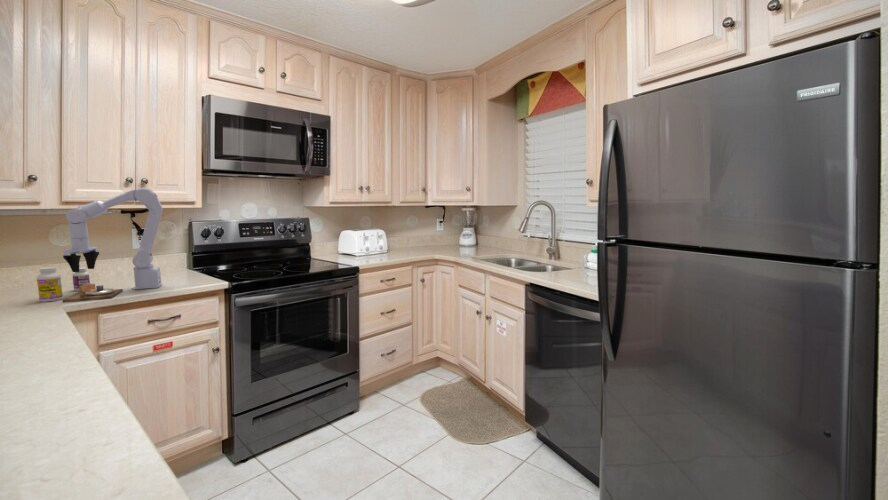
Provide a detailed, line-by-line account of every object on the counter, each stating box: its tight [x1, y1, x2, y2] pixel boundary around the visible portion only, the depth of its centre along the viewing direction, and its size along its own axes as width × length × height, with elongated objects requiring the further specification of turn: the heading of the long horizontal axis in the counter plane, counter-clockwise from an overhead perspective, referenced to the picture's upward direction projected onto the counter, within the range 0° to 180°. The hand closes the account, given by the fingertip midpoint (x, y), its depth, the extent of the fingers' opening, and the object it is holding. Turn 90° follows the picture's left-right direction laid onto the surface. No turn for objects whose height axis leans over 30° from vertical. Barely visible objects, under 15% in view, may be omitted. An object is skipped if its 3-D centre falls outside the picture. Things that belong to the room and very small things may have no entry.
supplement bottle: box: [36, 266, 64, 303], centre depth 159 cm, size 7×7×13 cm
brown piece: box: [61, 286, 124, 303], centre depth 166 cm, size 15×15×6 cm
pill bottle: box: [72, 267, 91, 292], centre depth 178 cm, size 5×5×10 cm
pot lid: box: [83, 283, 115, 296], centre depth 167 cm, size 12×9×3 cm
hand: (83, 270), depth 172 cm, fingers open, 7 cm apart
